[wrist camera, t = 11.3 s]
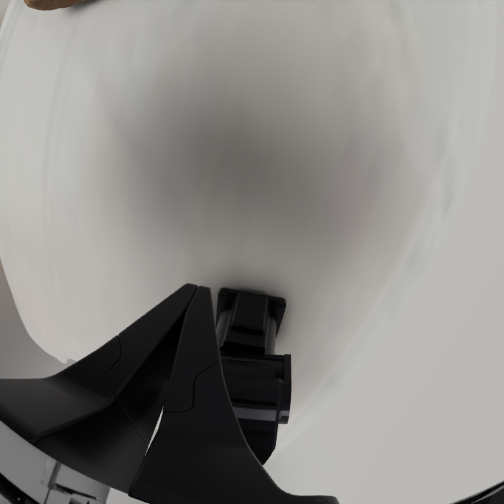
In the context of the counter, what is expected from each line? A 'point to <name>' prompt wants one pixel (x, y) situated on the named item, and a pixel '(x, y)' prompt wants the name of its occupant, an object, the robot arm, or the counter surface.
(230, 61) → the counter surface
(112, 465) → the robot arm
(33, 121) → the counter surface
